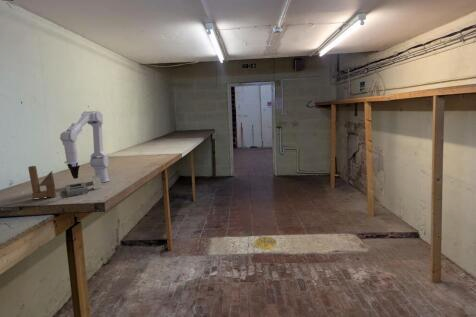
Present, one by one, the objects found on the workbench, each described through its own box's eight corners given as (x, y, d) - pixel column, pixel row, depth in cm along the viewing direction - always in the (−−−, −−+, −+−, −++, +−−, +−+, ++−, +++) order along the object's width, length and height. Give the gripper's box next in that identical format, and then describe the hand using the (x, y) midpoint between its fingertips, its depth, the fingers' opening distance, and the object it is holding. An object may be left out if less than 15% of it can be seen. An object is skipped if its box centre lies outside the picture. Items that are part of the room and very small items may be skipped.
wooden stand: (55, 197, 183) (49, 165, 179) (32, 200, 180) (26, 167, 176) (56, 195, 186) (51, 163, 183) (34, 198, 183) (28, 166, 180)
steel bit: (93, 188, 197) (91, 176, 196) (100, 186, 199) (99, 175, 198) (94, 189, 194) (92, 177, 192) (101, 188, 196) (100, 176, 194)
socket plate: (66, 190, 196) (65, 185, 195) (84, 186, 200) (83, 182, 200) (68, 196, 182) (67, 191, 181) (88, 193, 187) (87, 188, 186)
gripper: (62, 152, 187) (66, 175, 190) (64, 155, 175) (68, 181, 178) (75, 150, 191) (79, 173, 194) (78, 153, 179) (82, 178, 181)
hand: (75, 177), depth 186 cm, fingers open, 7 cm apart
